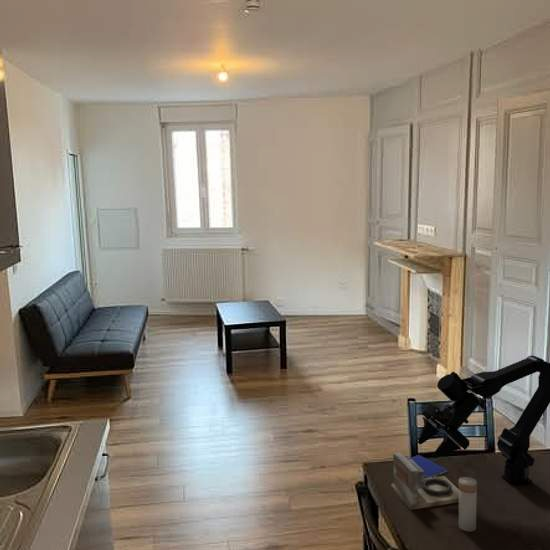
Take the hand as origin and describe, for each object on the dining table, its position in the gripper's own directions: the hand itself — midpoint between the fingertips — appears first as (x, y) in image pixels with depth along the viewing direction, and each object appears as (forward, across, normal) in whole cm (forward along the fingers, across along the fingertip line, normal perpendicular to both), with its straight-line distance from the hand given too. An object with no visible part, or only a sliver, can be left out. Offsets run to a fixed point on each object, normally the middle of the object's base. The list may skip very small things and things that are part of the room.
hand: (426, 450), depth 166 cm
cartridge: (+8, +18, +12) cm, 23 cm away
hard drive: (+5, -15, +15) cm, 22 cm away
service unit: (+9, 0, +10) cm, 14 cm away
